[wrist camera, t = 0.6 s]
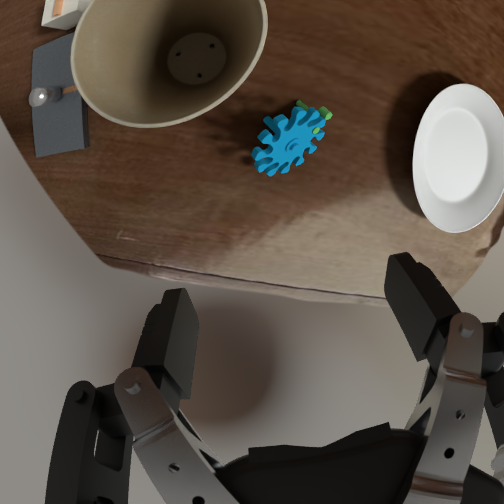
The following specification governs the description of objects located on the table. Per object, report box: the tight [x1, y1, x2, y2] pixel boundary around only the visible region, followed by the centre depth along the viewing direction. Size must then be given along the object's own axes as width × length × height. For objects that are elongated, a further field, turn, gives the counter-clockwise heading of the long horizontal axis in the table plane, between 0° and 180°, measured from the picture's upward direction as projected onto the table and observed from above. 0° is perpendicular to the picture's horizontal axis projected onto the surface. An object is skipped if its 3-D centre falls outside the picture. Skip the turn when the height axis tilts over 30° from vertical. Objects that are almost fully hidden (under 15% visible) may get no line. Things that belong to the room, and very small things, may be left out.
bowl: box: [413, 84, 504, 233], centre depth 31 cm, size 25×25×4 cm
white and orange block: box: [41, 0, 91, 30], centre depth 16 cm, size 6×6×7 cm
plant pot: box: [70, 0, 268, 128], centre depth 19 cm, size 15×15×16 cm
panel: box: [29, 32, 90, 158], centre depth 23 cm, size 18×10×6 cm, turn 177°
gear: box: [251, 100, 332, 176], centre depth 29 cm, size 11×6×10 cm
